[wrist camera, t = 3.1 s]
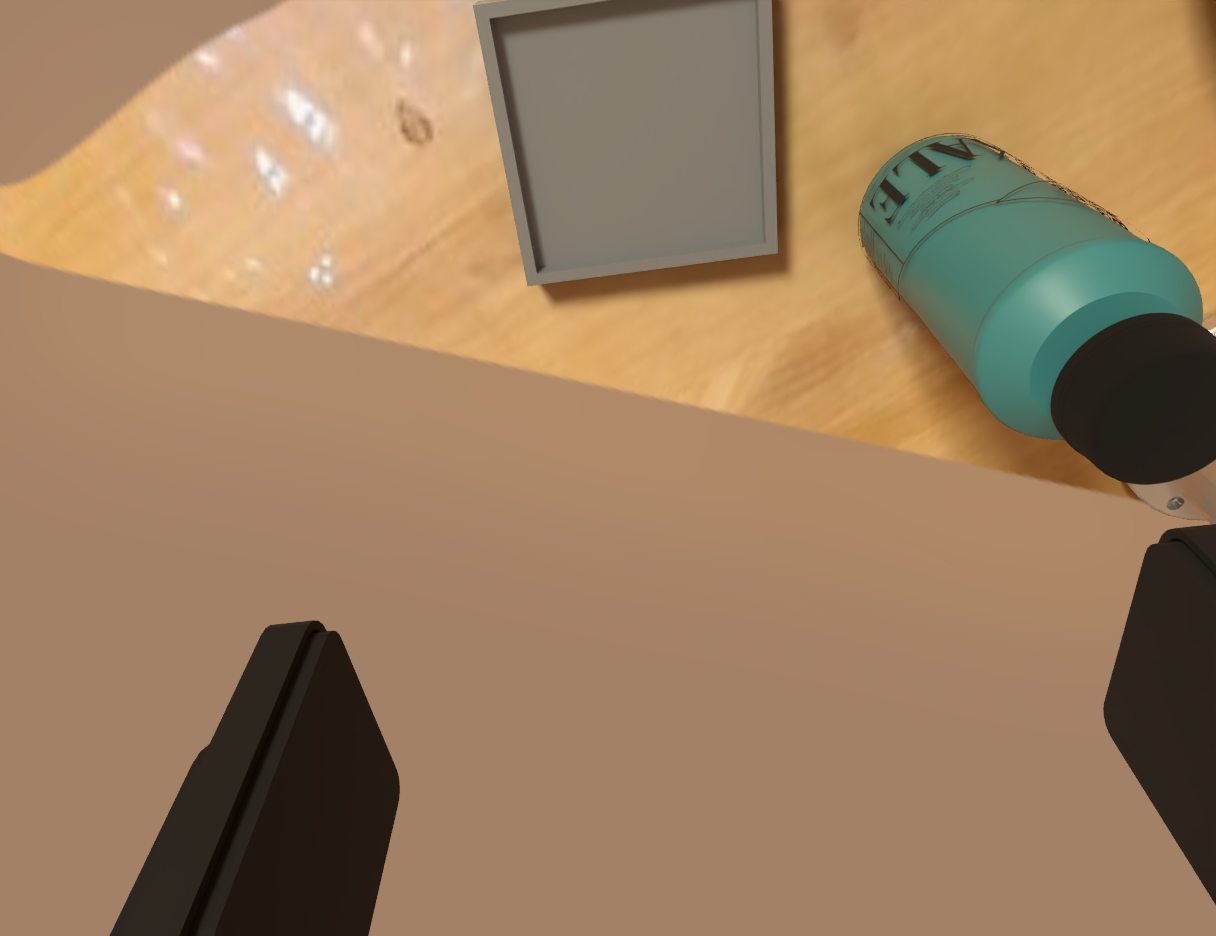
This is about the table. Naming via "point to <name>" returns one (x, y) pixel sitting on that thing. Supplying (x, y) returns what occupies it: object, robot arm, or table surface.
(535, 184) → the tray
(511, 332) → the table surface
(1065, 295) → the beverage bottle
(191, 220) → the table surface
